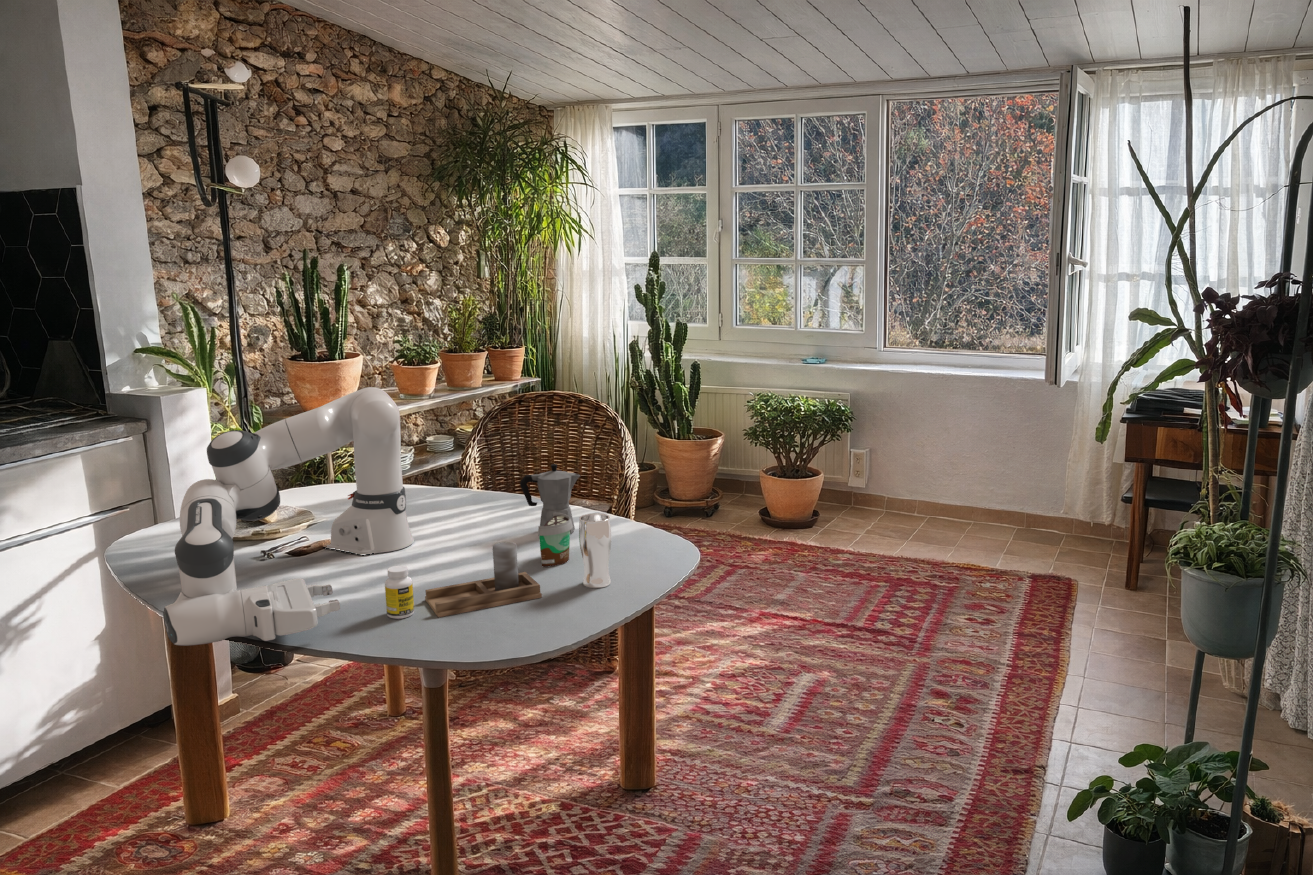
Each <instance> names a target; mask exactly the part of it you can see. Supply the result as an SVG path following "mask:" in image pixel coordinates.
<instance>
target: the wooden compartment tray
mask: <svg viewBox="0 0 1313 875" xmlns="http://www.w3.org/2000/svg"><path fill="white" fill-rule="evenodd" d="M517 548H518V546H517V543H514V542H510V541H507V542H506V541H504V542H498V543H497V542H496V543H495V544H493V545H492V558H493V577H489V578H485V579H484V578H483V579H479V580H473V581H468V582H463V583H462V582H461V583H456V584H451V585H445V586H440V587H434V588H429V589H425V596H424V600H425V602H426V603H427V604H428V605H429V607H430V609H431V610H432V611H433V613H434V614H435V615H436V617H438V618H443V617H448V616H454V615H458V614H463V613H468V612H469V613H470V612H475V611H479V610H484V609H489V608H495V607H501V606H505V605H510V604H516V603H522V602H526V601H530V600H535V599H536V600H537V599H541V598H543V594H542V593H541V585H540V584H539V583H538V582H537V581H536V580H535V579H534V578H533V577H532V576H530V575H529V574H528V573H527V571H523V572H519V567H518V566H519V565H518V564H519V563H518V550H517Z"/></svg>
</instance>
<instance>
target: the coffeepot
mask: <svg viewBox="0 0 1313 875" xmlns="http://www.w3.org/2000/svg"><path fill="white" fill-rule="evenodd" d="M550 467H551V470H549V471H546V472H545V471H544V472H540V473H539V474H537V473H536V474H526V475H524V476H523V478H522V479H521V480H520V482H519V486H520V488H521V490H522V492H523V496H524V497H525V499H526V502H527V504H528V506H529V507H536V506H537V505H538V502H535V501H533V500H532V495H531V493H530V489H529V486H528V483H537V488H538V493H539V498H540V501H541V502H542V508H541V511H540V512H541V514H540V522H539V526H544V525H545V523H546V522H547V521H548V520H550V519H552V518H553V513H562V514H566V515H568V516H569V517H570V519H571V521H572V525H573V528H572V529H571V530H570V535H572V534H573V533H574V532H575V530H576V527H575V523H574V518H573V515H572V509H571V506H570V503H569V502H570V500H571V499H572V498H571V496H572V489H573V488H574V486H575V484H576V482H577V480H578V479H579V478H581V475H580V474H579V473H575V472H568V471H564V470H563V471H562V470H557V469H558V464H557V463H556V464H555V463H552V464H550Z"/></svg>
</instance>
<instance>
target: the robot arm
mask: <svg viewBox="0 0 1313 875" xmlns="http://www.w3.org/2000/svg"><path fill="white" fill-rule="evenodd" d="M401 441H402V438H401V413H400V409H399V407H398V405H397V404H396V402H395V401H394V400H393V398H392V397H391V396H390V395H389V394H388V393H387V392H386V391H385V390H383V389H381V388H379V387H373V386H368V387H363V388H361V389H358V390H356V391H353V392H351V393H349V394H346V395H343V396H341V397H339V398H336V399H334V400H332V401H330V402H328V403H325V404H324V405H321V406H319V407H315V408H313V409H311V410H307V411H305V412H301V413H299V414H295V415H293V416H289V417H287V418H283V419H280V420H278V421H275V422H273V423H272V424H269V425H266V426H264V427H263V428H260V429H259V430H257V431H255V432H249V431H246V430H239V429H233V430H228V431H224V432H223V433H220V434H218V435H217V436H215V437H214V438H213V439H211V440H210V442H209V444H207V447H206V455H207V460H208V463H209V465H211V468H212V470H213V474H214V476H215V479H210V478H206V479H201V480H198V481H196V482H194V483H193V484H191V485H190V486H189V487H188V488H187V489H186V491H185V493H184V495H183V499H182V502H181V505H180V510H179V511H180V512H179V527H180V533H181V537H180V538H179V540H178V542H177V543H176V544H175V547H174V555H175V559H176V564H177V566H178V572H179V574H178V575H179V580H180V587H181V591H180V593H179V595H178V596H177V598H176V600H175V601H174V603H171V604H167V605H166V606H164V608H163V612H162V615H163V617H162V618H163V623H164V627H165V631H166V635H167V638H168V639H169V641H170V643H172V644H173V645H174V646H175V645H176V646H181V647H183V646H197V645H206V644H211V643H216V642H222V641H224V640H226V639H228V638H232V637H240V638H243V637H249V636H253V637H257V638H259V639H260V640H262V641H264V642H267V641H273V640H275V639H276V636H279V637H280V636H287V635H292V634H293V635H294V634H298V633H302V632H305V631H309V630H312V629H313V628H316V627H317V626H318V624H319V623H318V618H320V617H323V616H326V615H328V614H330V613H333V612H338V611H340V609H341V604H340V602H339V600H338V599H331V600H328V602H325V603H322V604H320V603H316V604H314V601H313V598H314V596H317V597H318V596H323V597H326V596H331V595H333V587H332V585H331V584H329V583H328V584H309V585H308V584H306V580H305V579H303V578H292V579H288V580H283V581H279V582H275V583H271V584H268V585H261V586H255V587H249V588H243V589H238V584H237V577H236V576H237V575H236V566H235V557H234V556H235V552H234V551H235V547H234V541H233V539H234V536H235V533H236V528H237V520H241V521H246V522H251V521H252V522H255V521H261V520H263V519H266V518H268V517H270V516H271V515H272V514H274V513H275V512H276V511H277V509H278V508H279V506H280V505H281V495H280V490H279V488H278V486H277V485H276V484H277V483H276V481H275V478H274V475H273V472H272V471H274V470H279V469H284V468H287V467H291V466H292V467H293V466H295V465H298V464H301V463H304V462H307V461H311V460H313V459H315V458H319V457H321V456H324V455H327V454H330V453H332V452H334V451H337V450H338V449H340V448H341V447H343V446H345V445H347V444H349V443H351V442H353V461H354V472H355V475H354V476H355V485H356V490H355V491H353V492H352V493H350V494H348V495H347V497H348V498H347V500H351V499H352V502H351V505H350V506H349V507H348V508H347V509H345V510H344V511H343V512H342V513H340V515H338V516H337V517H336V518H335V519H334V520H333V522H332V523H331V530H330V537H331V544H330V545H327V548H335V549H340V550H344V551H349V552H353V553H357V554H370V555H373V554H372V553H374V554H378V553H380V554H381V553H388V552H389V553H390V552H392V551H397V550H401V549H404V548H407V547H409V546H411V545H412V544H414V541H415V539H414V536H413V535H412V530H411V529H410V524H409V520H408V516H407V510H406V509H407V498H406V495H407V494H406V488H405V486H404V485H403V484H404V483H403V482H404V481H403V470H402V456H401V455H402V453H401V450H402V448H401V447H402V445H401V444H402V442H401ZM357 554H356V555H357Z"/></svg>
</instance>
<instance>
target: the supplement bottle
mask: <svg viewBox="0 0 1313 875" xmlns="http://www.w3.org/2000/svg"><path fill="white" fill-rule="evenodd" d="M408 575H409V567H408V566H406V565H393V566H390V567H388V569H387V577H388V578H387V579H386V580H385V581H384V592H385V593H384V594H385V606H386V615H387V617H388V618H390V619H397V620H400V619H406V618H409V617H411V616H413V615H414V613H415V603H414V602H415V601H414V600H415V599H414V588H413V580H412V578H411V577H410V576H408Z"/></svg>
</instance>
